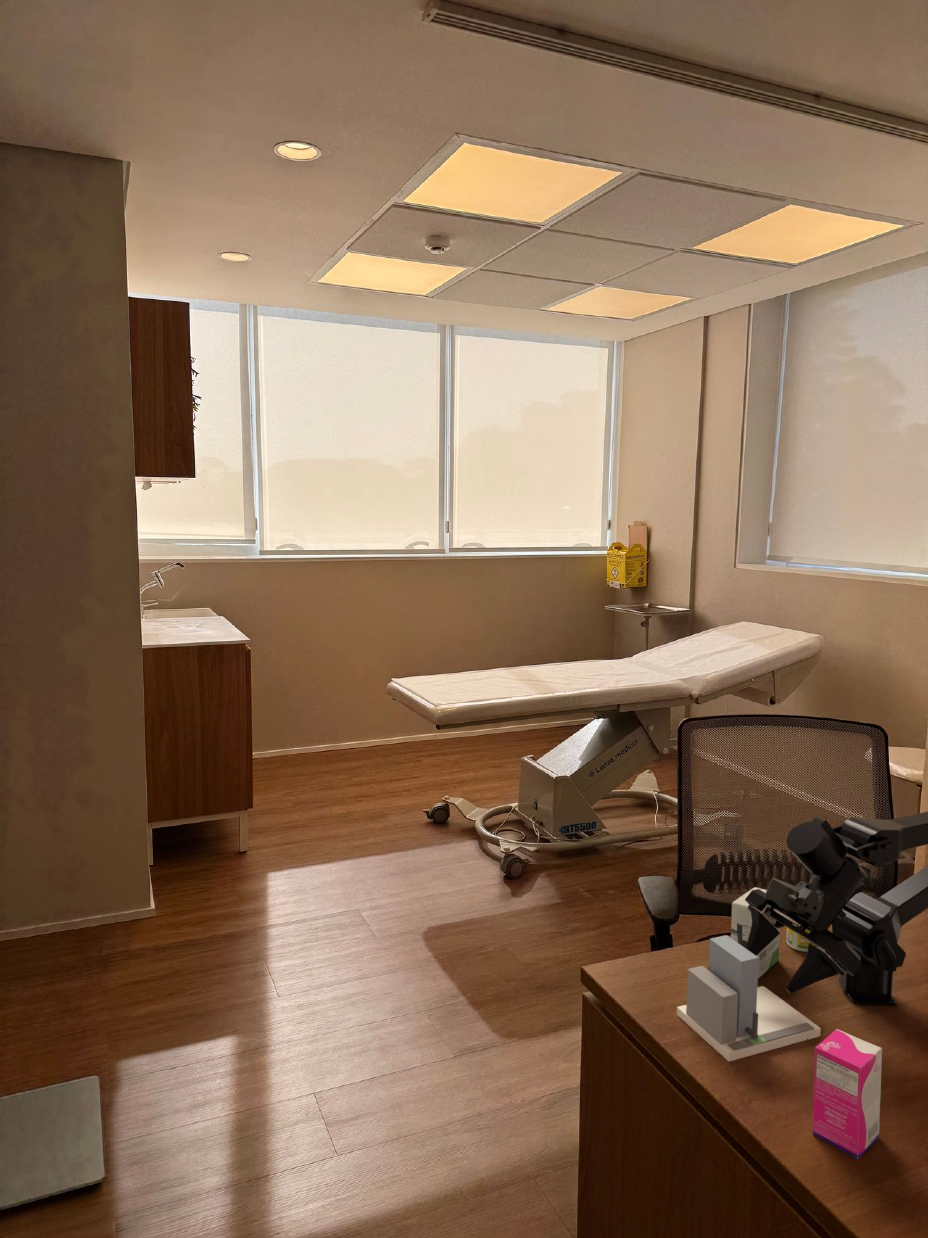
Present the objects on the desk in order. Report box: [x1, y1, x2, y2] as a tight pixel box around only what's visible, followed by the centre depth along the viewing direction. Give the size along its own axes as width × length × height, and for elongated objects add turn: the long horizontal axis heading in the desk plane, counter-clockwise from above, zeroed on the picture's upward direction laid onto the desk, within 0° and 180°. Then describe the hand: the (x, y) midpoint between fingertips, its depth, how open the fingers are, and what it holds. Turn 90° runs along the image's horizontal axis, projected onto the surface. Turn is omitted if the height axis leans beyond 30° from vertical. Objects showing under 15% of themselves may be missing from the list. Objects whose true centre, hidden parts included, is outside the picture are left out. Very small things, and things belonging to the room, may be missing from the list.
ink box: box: [730, 887, 781, 979], centre depth 142 cm, size 9×5×12 cm, turn 136°
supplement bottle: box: [785, 924, 819, 953], centre depth 149 cm, size 5×5×10 cm
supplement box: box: [812, 1028, 883, 1160], centre depth 103 cm, size 6×6×12 cm
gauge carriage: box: [708, 934, 759, 1039], centre depth 123 cm, size 3×9×11 cm, turn 21°
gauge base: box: [676, 965, 822, 1062], centre depth 126 cm, size 16×12×8 cm
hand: (765, 975), depth 127 cm, fingers open, 9 cm apart
